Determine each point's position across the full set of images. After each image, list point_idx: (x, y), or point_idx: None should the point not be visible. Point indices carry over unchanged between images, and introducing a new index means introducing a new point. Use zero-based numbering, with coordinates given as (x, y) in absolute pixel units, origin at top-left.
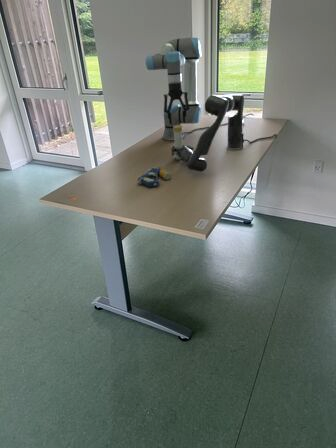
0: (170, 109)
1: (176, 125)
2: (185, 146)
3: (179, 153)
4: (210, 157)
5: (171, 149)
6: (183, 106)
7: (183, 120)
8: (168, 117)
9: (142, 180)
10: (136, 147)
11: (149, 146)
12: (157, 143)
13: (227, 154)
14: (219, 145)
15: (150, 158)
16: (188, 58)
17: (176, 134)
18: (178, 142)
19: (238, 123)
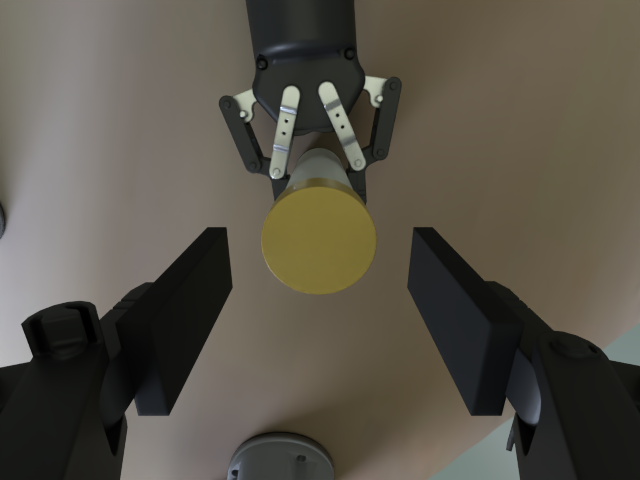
0: (560, 410)
1: (323, 285)
2: (275, 139)
3: (354, 14)
4: (127, 102)
5: (389, 143)
6: (29, 455)
7: (220, 259)
8: (503, 293)
9: None
10: (491, 416)
11: (427, 406)
12: (377, 429)
13: (10, 111)
14: (52, 283)
15: (480, 237)
16: None
17: (344, 183)
18: (327, 164)
19: None
